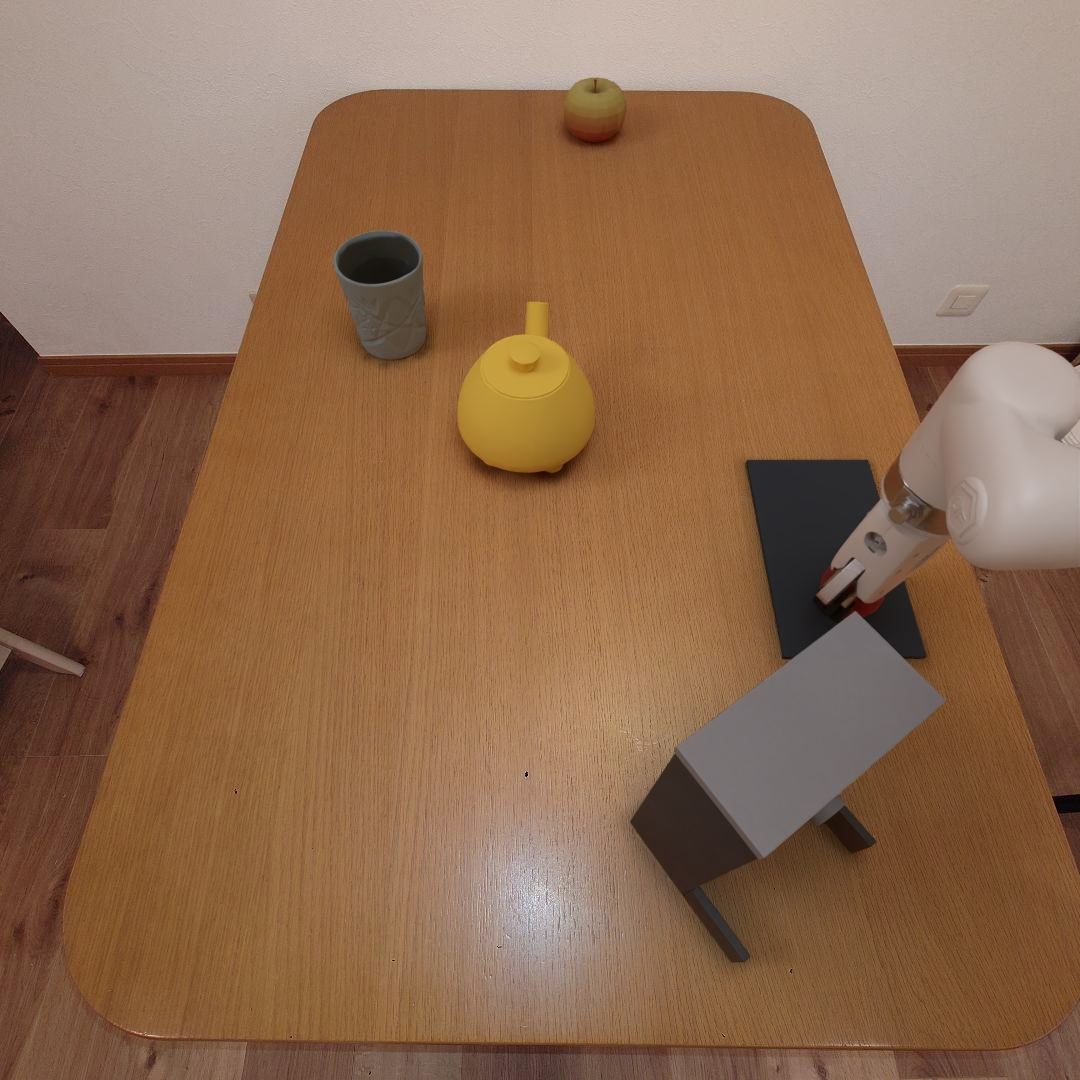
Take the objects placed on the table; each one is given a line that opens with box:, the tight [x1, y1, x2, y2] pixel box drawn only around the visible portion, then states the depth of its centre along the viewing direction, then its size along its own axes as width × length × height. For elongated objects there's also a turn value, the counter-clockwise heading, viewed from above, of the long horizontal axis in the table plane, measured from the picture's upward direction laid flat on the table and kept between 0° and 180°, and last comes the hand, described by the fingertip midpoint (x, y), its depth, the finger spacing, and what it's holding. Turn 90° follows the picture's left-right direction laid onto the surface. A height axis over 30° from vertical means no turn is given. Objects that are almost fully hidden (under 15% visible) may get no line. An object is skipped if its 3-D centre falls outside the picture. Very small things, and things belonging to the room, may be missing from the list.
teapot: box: [456, 301, 596, 474], centre depth 79 cm, size 20×16×14 cm
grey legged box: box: [629, 611, 947, 964], centre depth 51 cm, size 13×15×25 cm
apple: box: [563, 77, 627, 143], centre depth 113 cm, size 10×10×8 cm
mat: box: [745, 459, 927, 660], centre depth 76 cm, size 24×14×1 cm, turn 0°
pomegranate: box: [820, 566, 885, 618], centre depth 69 cm, size 6×6×8 cm
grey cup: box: [332, 229, 428, 361], centre depth 88 cm, size 10×10×12 cm
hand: (850, 592), depth 70 cm, fingers closed on pomegranate, 5 cm apart
